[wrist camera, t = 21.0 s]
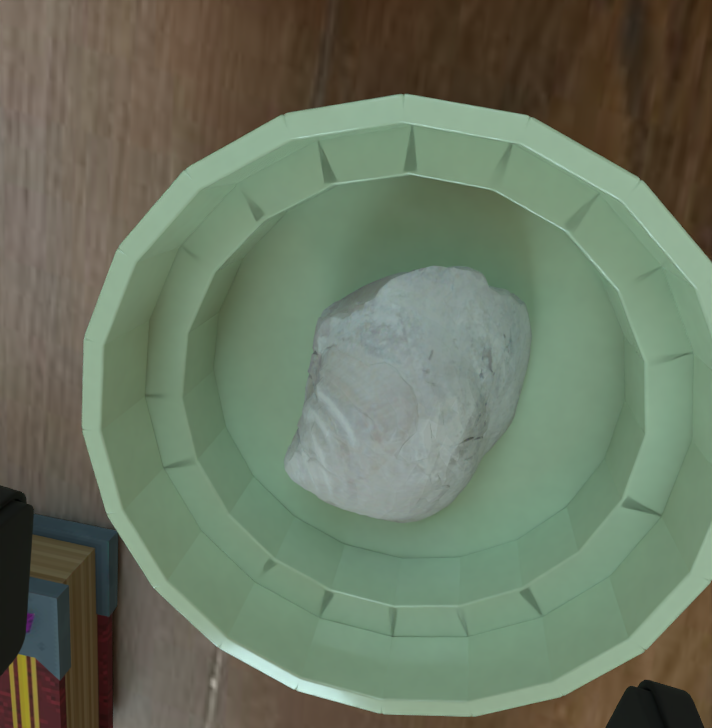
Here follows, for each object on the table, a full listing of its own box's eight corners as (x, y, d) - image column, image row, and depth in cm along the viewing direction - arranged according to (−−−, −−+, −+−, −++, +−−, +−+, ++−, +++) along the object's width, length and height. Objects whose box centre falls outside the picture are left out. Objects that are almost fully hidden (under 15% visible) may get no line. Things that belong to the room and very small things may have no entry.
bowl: (194, 65, 20) (89, 37, 15) (765, 167, 19) (893, 179, 13) (159, 526, 26) (75, 631, 21) (589, 635, 25) (624, 781, 19)
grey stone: (267, 268, 21) (229, 304, 16) (520, 239, 20) (556, 268, 16) (307, 499, 24) (283, 587, 19) (531, 482, 23) (565, 570, 18)
